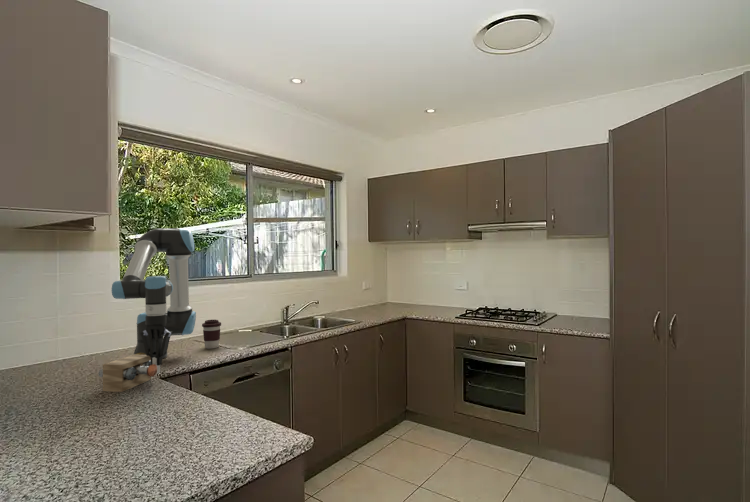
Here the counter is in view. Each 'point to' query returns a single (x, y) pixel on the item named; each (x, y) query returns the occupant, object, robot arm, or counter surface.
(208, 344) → the coffee cup
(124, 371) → the plug
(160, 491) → the counter surface
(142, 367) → the plug rust
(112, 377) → the block
